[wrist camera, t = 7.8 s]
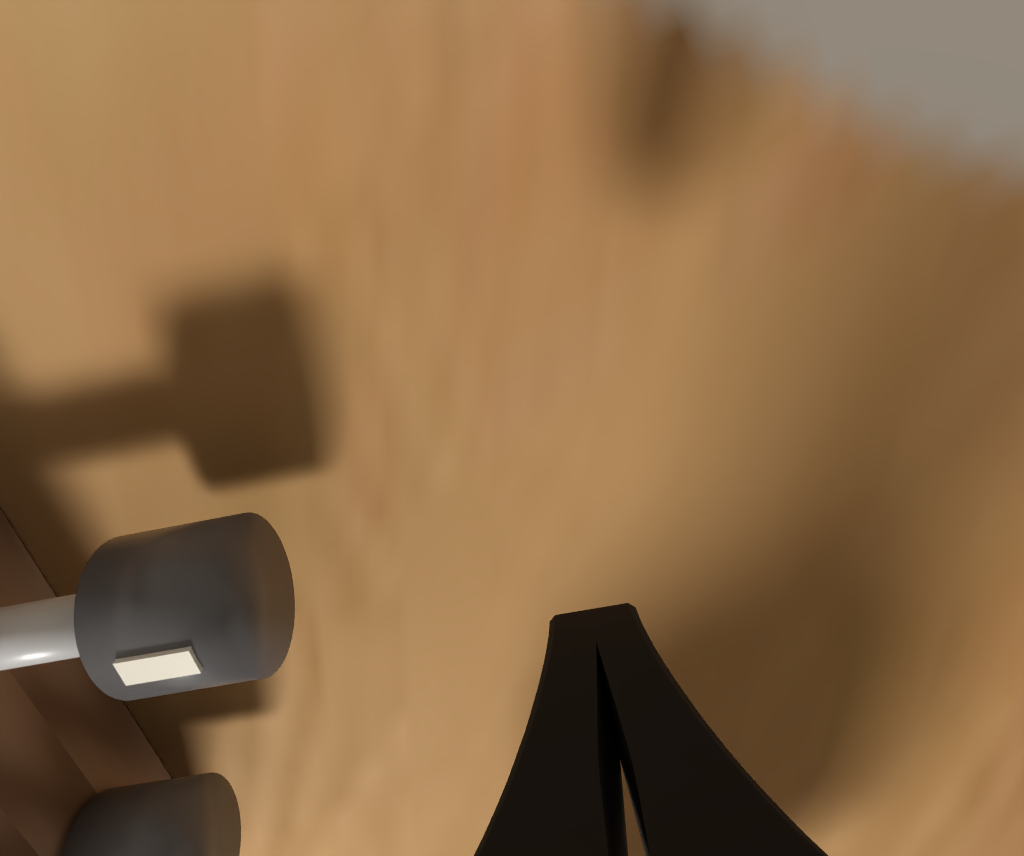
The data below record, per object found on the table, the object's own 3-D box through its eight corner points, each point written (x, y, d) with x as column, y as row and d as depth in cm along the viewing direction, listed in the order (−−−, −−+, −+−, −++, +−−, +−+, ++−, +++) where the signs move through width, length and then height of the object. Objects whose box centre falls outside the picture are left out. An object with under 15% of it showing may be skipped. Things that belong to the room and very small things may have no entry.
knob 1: (307, 601, 18) (261, 720, 14) (-9, 656, 18) (-122, 781, 15) (255, 482, 16) (191, 585, 13) (-87, 547, 17) (-232, 661, 14)
